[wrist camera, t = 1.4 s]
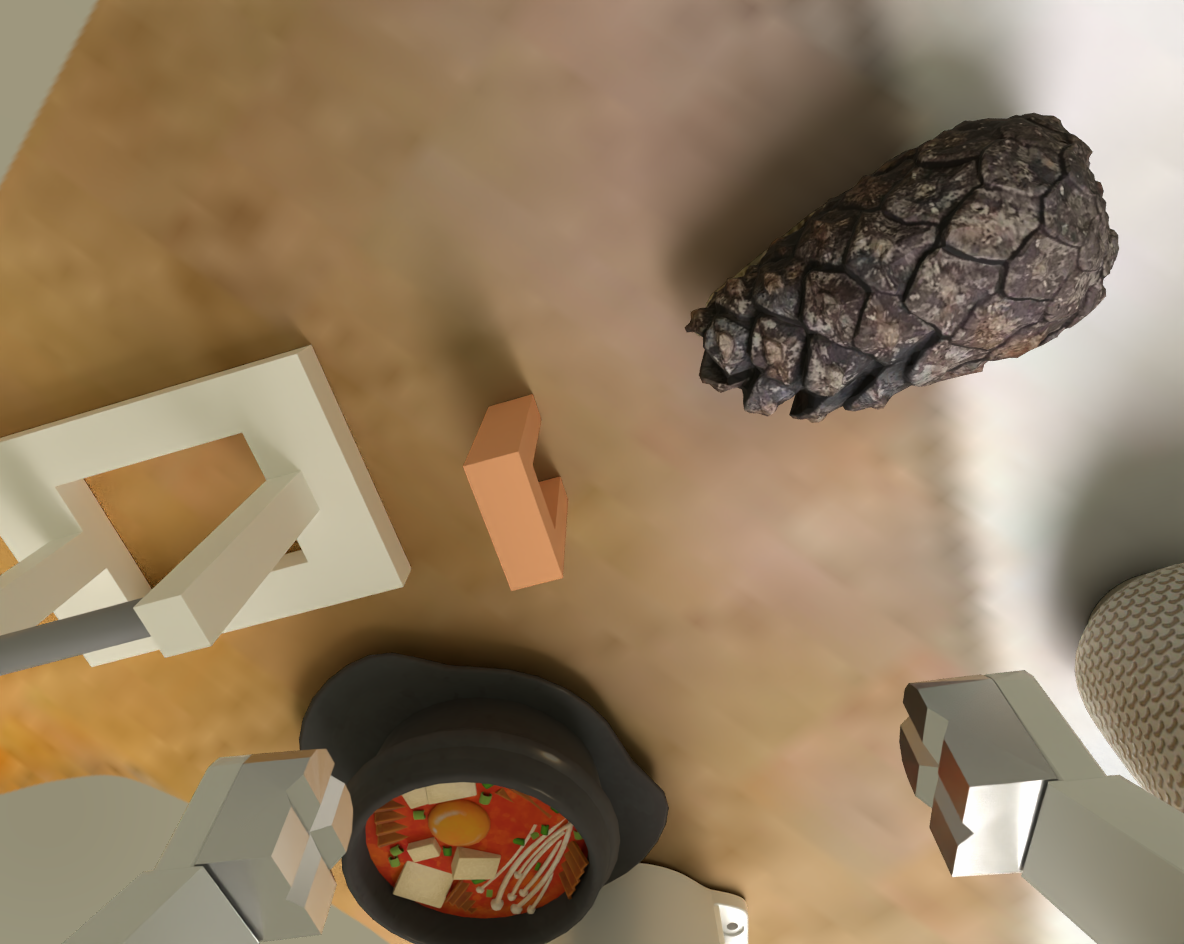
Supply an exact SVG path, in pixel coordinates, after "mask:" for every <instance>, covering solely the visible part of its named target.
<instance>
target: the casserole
mask: <svg viewBox="0 0 1184 944" xmlns="http://www.w3.org/2000/svg"><path fill="white" fill-rule="evenodd" d="M299 744H300V750H312V749H326V750H327V751H328V753H329V755H330V756H331V758H332V760H333V762H334V763H335V764H334V767H333V770H332V773H331V776H333V777H334V778H336V779H338V780H339V781H341V782H343V783H345V785H346V787H347V789H348V791H349V793H350V796H351V801H352V806H353V821H352V833H351V837H350V840H349V844H348V848H347V851H346V853H345V854H344V855H343V856H342V871H343V874H344V877H345V880H346V883H347V886H348V888H349V890H350V892H351V893H352V895H353V896H354V898H355V899H356V901H357V903H358V904H359V905H360V906H361V907H362V909H363V910H364V911H365V912H366V913H367V914H368V915H369V916H370V917H371V918H372V919H373V920H374V921H376V922H377V923H379V924H380V925H381V926H383V927H384V928H386V929H387V930H388V931H390V932H391V933H393V934H395V935H397V936H399V937H401V938H403V939H405V940H407V941H409V942H411V943H414V944H546V943H548V942H550V941H552V940H554V939H556V938H557V937H559V936H561V935H563V934H565V933H566V932H568V931H569V930H570V929H571V928H572V927H574V926H575V925H576V924H577V923H578V922H580V921H581V920H582V919H583V918H584V916H585V915H586V914H587V912H588V911H589V910H590V909H591V907H592V906H593V905H594V902H595V900H596V898H597V895H598V893H599V891H600V890H601V888H602V887H603V886H604V885H606V884H609V883H610V882H612V881H614V880H615V879H617V878H619V877H621V876H622V875H624V874H626V873H627V872H629V871H630V870H631V869H632V868H633V867H635V866H636V865H637V864H638V863H639V862H641V861H642V860H643V859H644V858H645V857H646V856H647V854H648V853H649V852H650V850H651V849H652V848H653V847H654V845H655V844H656V843H657V841H658V839H659V837H660V835H661V833H662V831H663V829H664V827H665V825H666V820H667V815H668V809H669V807H668V803H667V800H666V797H665V793H664V791H663V790H662V789H661V788H660V787H659V786H658V785H657V784H656V783H655V782H654V781H653V780H652V779H651V778H650V777H649V776H648V775H647V774H646V773H645V772H644V771H643V770H642V769H641V768H640V767H639V766H638V765H637V764H636V763H635V762H634V761H633V760H632V759H631V757H630V755H629V754H628V752H627V751H626V749H625V748H624V746H623V745H622V743H621V742H620V740H619V739H618V737H617V736H616V734H615V733H614V731H613V729H612V728H611V726H610V725H609V723H608V722H607V721H606V720H605V719H604V718H603V717H602V716H601V715H600V714H599V713H598V712H597V711H596V710H595V709H594V708H593V707H592V706H591V705H590V704H589V703H587V702H586V701H584V700H583V699H581V698H580V697H578V696H577V695H575V694H574V693H572V692H571V691H569V690H568V689H566V688H564V687H562V686H559V685H557V684H555V683H552V682H550V681H548V680H545V679H543V678H541V677H538V676H534V675H530V674H526V673H522V672H518V671H514V670H510V669H497V668H483V667H469V666H454V665H446V664H442V663H438V662H434V661H430V660H426V659H422V658H417V657H412V656H407V655H402V654H397V653H384V654H376V655H368V656H366V657H364V658H361V659H359V660H357V661H355V662H353V663H351V664H348V665H347V666H345V667H344V668H343V669H341V670H340V671H339V672H338V673H336V674H335V675H334V676H332V677H331V678H330V679H329V680H328V681H327V682H326V683H325V684H324V685H323V687H322V688H321V689H320V690H319V691H318V692H317V694H316V695H315V696H314V697H313V699H312V701H311V703H310V705H309V707H308V709H307V711H306V713H305V716H304V718H303V721H302V726H301V732H300V737H299Z"/></svg>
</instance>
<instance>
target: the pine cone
mask: <svg viewBox="0 0 1184 944" xmlns="http://www.w3.org/2000/svg"><path fill="white" fill-rule="evenodd" d="M1091 154H1092V151H1091V149H1090V148H1089V146H1087V145H1086V144H1085V143H1084V142H1083V141H1082V140H1080V139H1079V138H1078V137H1077V136H1075V135H1073V134H1070V133H1069V132H1068V131H1067V130H1066V129H1065V128H1064V127H1063V126H1062V124H1061V120H1059V119H1058V118H1056V117H1055V116H1047V115H1040V114H1036V113H1030V114H1024V115H1022V116H1018V115H1015V116H1012V117H1010V118H1008V119H992V118H988V119H982V120H976V121H964V122H962V123H960V124H959V125H957V126H955V127H954V129H951V130H948V131H945V130H944V131H943V132H942V133H941V134H939V135H938V136H937V137H936V138H934V139H933V140H929V141H927V142H925V143H923V144H922V145H920V146H919V147H917V148H914V149H911V150H908V151H905V152H903V153H901V154H900V155H898V156H896V157H895V158H893V159H891V160H889V161H888V162H886V163H885V164H884V165H883V166H882V167H880V168H879V169H878V170H877V171H876V172H875V173H874V174H872V175H870V176H868V175H865V176H863V177H862V178H861V180H860V181H859V182H858V184H857V185H856V186H855V187H854V188H852V189H850V190H848V191H846V192H845V193H843V194H841V195H840V196H838V197H835V198H831V199H829V200H828V202H827V203H826V204H825V205H823V206H822V207H820V208H818V209H817V210H815V211H814V212H812V213H811V214H809V215H808V216H807V217H806V218H804V219H803V220H802V221H801V222H800V223H798V224H797V225H796V226H795V227H794V228H792V229H791V230H790V231H789V232H787V233H786V234H785V235H784V236H783V237H780V238H777V239H776V240H775V241H773V242H772V243H771V245H770V247H769V248H768V249H767V250H765V251H764V252H763V253H762V254H761V255H759V256H758V257H757V258H756V259H754V260H753V261H752V262H751V263H749V264H748V265H747V266H746V267H745V268H743V269H742V270H741V271H740V272H739V273H738V274H737V275H736V276H735V277H733V278H728V279H727V282H726V283H725V284H724V285H723V286H721V287H720V288H719V289H717V290H716V291H715V292H714V293H712V294H711V296H710V298H709V299H708V301H707V303H706V308H699V309H696V310H694V311H692V312H691V321H690V323H689V324H688V325H687V326H686V327H685V330H686V332H695V333H696V334H697V335H699V336H702V337H703V348H704V349H705V351H704V355H703V359H702V363H701V367H700V373H699V376H700V379H701V381H702V383H706V384H710V385H711V386H712V387H713V388H714V389H716V390H717V391H718V392H720V393H721V392H724V391H727V390H730V389H733V388H736V387H738V388H740V389H742V391H743V405H744V410H745V411H747V412H749V413H759V414H762V415H765V416H769V415H771V414H772V413H774V412H775V411H776V409H777V407H778V405H780V404H783V403H784V402H785V401H787V400H789V399H791V398H792V397H793V396H794V395H795V394H796V395H795V398H794V401H793V404H792V408H791V411H790V414H789V415H790V416H791V417H792V418H795V419H808V420H809V421H810V422H812V423H815V422H820V421H822V420H823V419H824V418H825V416H826V415H827V414H828V413H830V412H832V411H834V410H835V409H837V408H839V407H842V406H843V407H844V409H845V410H850V411H858V410H862V409H866V408H869V407H872V408H875V409H882V408H884V407H885V405H886V404H887V402H888V400H889V399H890V398H891V397H892V396H893V395H894V394H896V393H898V392H900V391H902V390H904V389H905V388H907V387H909V386H910V385H914V386H918V387H920V386H926V385H931V384H933V383H936V382H939V381H943V380H947V379H951V378H955V377H959V376H963V375H967V374H972V373H977V372H982V371H983V367H984V364H985V363H986V362H988V361H996V360H1001V359H1006V358H1018V357H1020V356H1021V355H1023V354H1025V353H1026V352H1028V351H1030V350H1032V349H1034V348H1037V347H1039V346H1041V345H1044V344H1045V343H1047V342H1049V341H1050V340H1052V339H1054V338H1056V337H1058V335H1059V334H1060V333H1061V332H1062V331H1063V330H1064V329H1066V328H1070V327H1072V326H1074V325H1075V324H1076V323H1078V322H1079V321H1080V320H1082V319H1083V318H1084V317H1085V316H1087V315H1088V314H1089V313H1090V312H1091V311H1092V310H1093V309H1095V308H1096V306H1097V305H1098V304H1099V303H1100V302H1101V301H1102V300H1103V299H1104V298H1105V297H1106V289H1105V288H1104V286H1103V279H1104V278H1105V277H1106V276H1107V275H1108V274H1110V270H1111V269H1112V267H1113V264H1114V261H1115V260H1116V257H1117V254H1118V250H1119V246H1118V235H1117V233H1116V232H1115V231H1114V230H1112V229H1110V228H1109V224H1108V221H1109V216H1108V214H1107V212H1106V211H1105V209H1106V201H1105V200H1104V199H1103V198H1102V196H1103V192H1104V191H1103V188H1102V185H1101V183H1100V182H1098V181H1095V178H1094V174H1093V173H1092V172H1091V171H1090V169H1089V165H1090V162H1089V157H1090V155H1091ZM756 264H757V265H756Z"/></svg>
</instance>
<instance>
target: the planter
mask: <svg viewBox="0 0 1184 944" xmlns="http://www.w3.org/2000/svg"><path fill="white" fill-rule="evenodd" d="M1075 676H1076V683H1077V687H1078V690H1079V693H1080V696H1081V698H1082V701H1083V703H1084V705H1085V708H1086V710H1087V711H1088V713H1089V715H1090V716H1091V718H1092V720H1093V721H1094V723H1095V724H1096V726H1097V727H1098V729H1099V730H1100V732H1101V733H1102V735H1103V736H1104V738H1105V739H1106V741H1107V742H1108V744H1109V745H1110V746H1111V748H1112V749H1113V750H1114V752H1115V753H1116V755H1117V756H1118V757H1119V759H1120V760H1121V761H1122V763H1123V764H1124V765H1125V767H1126V768H1127V770H1128V771H1129V772H1130V774H1131V775H1132V776H1133V777H1134V779H1135V780H1136V781H1137V782H1138V784H1139V785H1140V786H1141V787H1142V789H1144V790H1145V791H1147V792H1149V793H1150V794H1152V795H1154V796H1155V797H1157V798H1159V799H1160V800H1162V801H1164V802H1165V803H1167V804H1169V805H1170V806H1172V807H1174V808H1175V809H1177V810H1179V811H1180V812H1182V813H1184V563H1180V564H1175V565H1171V566H1168V567H1165V568H1161V569H1158V570H1155V571H1153V572H1151V573H1146V574H1143V575H1140V576H1136V577H1134V578H1131V579H1129V580H1126V581H1125V582H1123V583H1121V584H1119V585H1118V586H1116V587H1115V588H1113V589H1112V590H1111V591H1109V592H1108V593H1107V594H1106V595H1105V596H1104V597H1103V598H1102V599H1101V600H1100V601H1099V603H1098V604H1097V605H1096V607H1095V608H1094V610H1093V611H1092V614H1091V616H1090V618H1089V621H1088V624H1087V626H1086V628H1085V630H1084V632H1083V634H1082V636H1081V639H1080V641H1079V644H1078V648H1077V652H1076V659H1075Z"/></svg>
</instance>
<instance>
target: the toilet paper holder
mask: <svg viewBox="0 0 1184 944" xmlns="http://www.w3.org/2000/svg"><path fill="white" fill-rule="evenodd" d="M239 433H243V435H244V437H245V439H246V441H247V443H248V445H249V447H250V449H251V451H252V453H253V455H254V457H255V459H256V461H257V463H258V465H259V467H260V469H261V470H262V472H263V474H264V476H265V478H266V481H265V482H264V483H263V484H262V485H261V486H260V487H259V488H258V489H257V490H256V491H255V492H254V493H252V494H251V495H250V496H249V497H248V498H247V499H246V500H245V501H244V502H243V503H242V504H241V505H240V506H239V507H238V508H237V509H236V510H235V511H234V512H233V513H232V514H230V515H229V516H228V517H227V518H226V519H225V520H224V521H223V522H222V523H221V524H220V525H219V526H218V527H217V528H216V529H215V530H214V531H213V532H212V533H211V534H209V535H208V536H207V537H206V538H205V539H204V540H203V541H202V542H201V543H200V544H199V545H198V546H197V547H196V548H195V549H194V550H193V551H192V552H191V553H190V554H189V555H187V556H186V557H185V558H184V559H183V560H182V561H181V562H180V563H179V564H178V565H177V566H176V567H175V568H174V569H173V570H172V571H171V572H170V573H169V574H168V575H167V576H165V577H164V578H163V579H162V580H161V581H160V582H159V583H158V584H157V585H156V586H155V587H154V588H153V589H152V588H151V587H150V585H149V584H148V582H147V580H146V579H145V577H144V576H143V574H142V572H141V571H140V569H139V567H138V566H137V564H136V563H135V561H134V559H133V558H132V556H131V555H130V553H129V551H128V550H127V548H126V547H125V545H124V543H123V542H122V540H121V538H120V537H119V535H118V534H117V532H116V530H115V529H114V527H113V526H112V524H111V522H110V521H109V519H108V517H107V516H106V514H105V513H104V511H103V509H102V508H101V506H100V505H99V503H98V501H97V500H96V498H95V496H94V495H93V493H92V492H91V490H90V488H89V487H88V485H87V484H86V482H85V480H84V479H83V478H86V477H90V476H93V475H97V474H100V473H104V472H107V471H111V470H114V469H118V468H121V467H124V466H128V465H131V464H135V463H138V462H142V461H145V460H149V459H152V458H156V457H159V456H163V455H166V454H169V453H173V452H176V451H180V450H183V449H187V448H190V447H194V446H197V445H201V444H204V443H208V442H211V441H214V440H218V439H221V438H225V437H228V436H232V435H235V434H239ZM0 536H1V537H2V539H3V540H4V542H5V543H6V545H7V546H8V547H9V549H10V550H11V552H12V553H13V555H14V556H15V558H16V559H17V560H18V562H19V563H17V564H16V565H15V566H13V567H12V568H10V569H9V570H7V571H6V572H4V573H3V574H1V575H0V676H1V675H5V674H8V673H12V672H16V671H20V670H24V669H28V668H32V667H35V666H39V665H43V664H47V663H51V662H55V661H59V660H62V659H66V658H70V657H74V656H78V655H82V654H83V656H84V657H85V659H86V660H87V661H88V663H89V664H90V666H91V667H94V666H98V665H102V664H106V663H109V662H113V661H117V660H121V659H125V658H129V657H133V656H137V655H141V654H144V653H148V652H152V651H156V650H160V651H161V653H162V654H163V656H164V657H165V658H166V657H170V656H174V655H178V654H182V653H186V652H190V651H194V650H198V649H201V648H205V647H209V646H212V645H213V643H214V642H215V641H216V640H217V638H218V637H219V636H220V635H221V634H222V633H226V632H230V631H234V630H238V629H242V628H246V627H249V626H253V625H257V624H261V623H265V622H269V621H273V620H277V619H280V618H284V617H288V616H292V615H296V614H300V613H304V612H308V611H312V610H315V609H319V608H323V607H327V606H331V605H335V604H339V603H343V602H347V601H350V600H354V599H358V598H362V597H366V596H370V595H374V594H378V593H382V592H385V591H389V590H393V589H397V588H401V587H404V585H405V582H406V580H407V578H408V576H409V573H410V571H411V566H410V564H409V562H408V560H407V557H406V555H405V553H404V551H403V548H402V546H401V544H400V542H399V540H398V537H397V535H396V533H395V531H394V528H393V526H392V524H391V522H390V519H389V517H388V515H387V513H386V510H385V508H384V506H383V504H382V501H381V499H380V497H379V495H378V493H377V490H376V488H375V486H374V484H373V481H372V479H371V477H370V475H369V472H368V470H367V468H366V466H365V463H364V461H363V459H362V457H361V455H360V452H359V450H358V448H357V446H356V443H355V441H354V439H353V437H352V434H351V432H350V430H349V428H348V425H347V423H346V421H345V419H344V416H343V414H342V412H341V410H340V408H339V405H338V403H337V401H336V399H335V396H334V394H333V392H332V390H331V387H330V385H329V383H328V381H327V378H326V376H325V374H324V372H323V370H322V367H321V365H320V363H319V361H318V358H317V356H316V354H315V352H314V349H313V347H312V345H309V346H305V347H302V348H299V349H295V350H292V351H289V352H285V353H282V354H279V355H275V356H272V357H269V358H265V359H262V360H258V361H255V362H252V363H248V364H245V365H242V366H238V367H235V368H232V369H228V370H225V371H222V372H218V373H215V374H212V375H208V376H205V377H202V378H198V379H195V380H192V381H188V382H185V383H182V384H178V385H175V386H172V387H168V388H165V389H162V390H158V391H155V392H152V393H148V394H145V395H142V396H138V397H135V398H132V399H128V400H125V401H122V402H118V403H115V404H112V405H108V406H105V407H102V408H98V409H95V410H92V411H88V412H85V413H82V414H78V415H75V416H72V417H68V418H65V419H62V420H58V421H55V422H52V423H48V424H45V425H42V426H38V427H35V428H32V429H28V430H25V431H22V432H18V433H15V434H12V435H8V436H5V437H2V438H0ZM296 539H297V541H298V543H299V545H300V547H301V549H302V550H299V551H295V552H292V553H288V554H285V553H286V552H287V551H288V549H289V548H290V547H291V546H292V544H293V543H294V542H295V541H296ZM52 612H54V614H55V615H56V617H57V618H58V620H57V621H53V622H49V623H46V624H42V625H38V624H39V623H40V622H41V621H43V620H44V619H45V618H46V617H47V616H49V615H50V614H51V613H52ZM36 625H38V626H36Z"/></svg>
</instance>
